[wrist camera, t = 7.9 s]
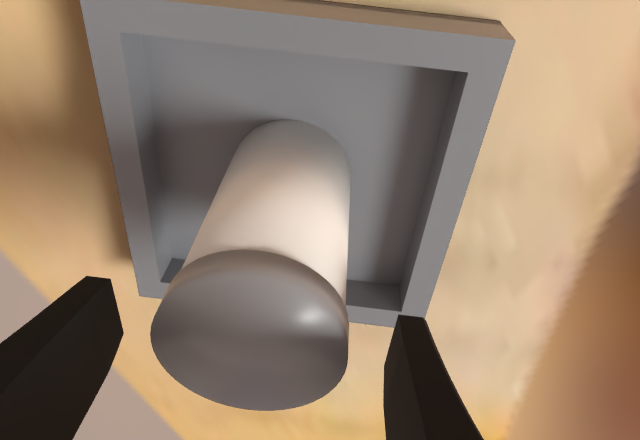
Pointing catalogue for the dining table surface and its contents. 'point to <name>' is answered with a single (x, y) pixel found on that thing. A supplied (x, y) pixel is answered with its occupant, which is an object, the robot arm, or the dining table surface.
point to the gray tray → (303, 105)
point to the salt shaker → (265, 277)
